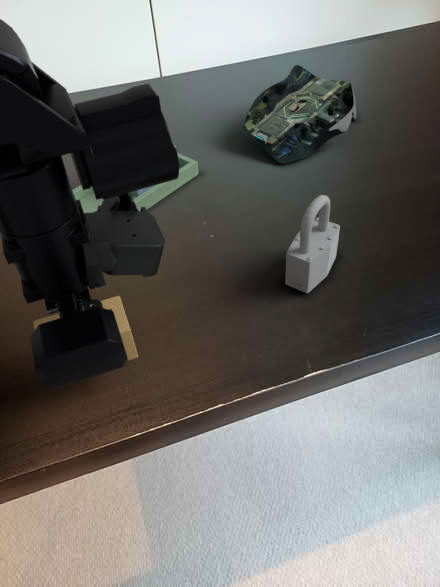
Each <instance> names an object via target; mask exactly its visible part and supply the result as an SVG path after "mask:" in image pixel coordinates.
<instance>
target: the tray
mask: <svg viewBox="0 0 440 587" xmlns="http://www.w3.org/2000/svg"><path fill="white" fill-rule="evenodd" d="M177 154H178V160H179V176H178V178H177V179H175V180H172V181H168V182H165V183H161V184H158V185H155V186H153V187H152V188H150V189H149V190H147V191H146V192H144V193H143V194H141V195H140V196H138V197H137V196H135V195H134V194H132V193H131V195H132V197H133V199H134V202H135V204H136V207H137V209H138V211H140V210H141V207H146V210H147V211H148V210H149V209H150V208H152V207H153V206H155V205H156V204H158V203H159V202H160V201H162V200H164V199H165V198H166V197H168V196H169V195H170V194H172V193H173V192H175V191H176V190H178V189H179V188H181V187H183V185H185V184H187V183H188V182H189V181H191V180H193V179H194V178H195V177H197V176H198V175H199V164H198V163H199V162H198V161H197V160H195V159H193V158H190V157H188V156H186V155H184V154H181V153H180V152H177ZM72 191H73V194H74V196H75V199H76V200H79V199H80V202H81V205H82V208H83V212H84V213H91V212H95V211H97V209H98V205H100V206H101V204H102V202H103V201H104V200H103V199H102V198H101V199H98V200H96V197H95V195H94V192H93V188H92V186H91V188H90V189H86V190H83V188H82V186H81V184H80V185H78V186H76V187H75V188H72Z"/></svg>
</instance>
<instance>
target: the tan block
mask: <svg viewBox="0 0 440 587" xmlns="http://www.w3.org/2000/svg"><path fill="white" fill-rule="evenodd" d="M100 301H101V303H102V305H103V308H105V309H108V310H109V309H112V311H113V312H114V315H115V318H116V321H117V325H118V328H119V331H120V334H121V338H122V341H123V344H124V347H125V351H126V354H127V357H128V360H127V361H126V362H128V361H132V360H135V359H137V358H139V354H138V350H137V347H136V344H135V340H134V337H133V333H132V329H131V326H130V323H129V321H128V317H127V315H126V312H125V308H124V306H123V302H122V299H121V296H120V295H116V296H112V297H109V298H106V299H102V300H100ZM83 308H84V307H83ZM56 319H59V313H54V314H53V315H49V316H45V317H42V318H39V319H35V320H33V321H32V323H33V331H34V330H35V329H36V328H37V326H38V325H39V324H42V323H46V322H49V321H52V320H56Z"/></svg>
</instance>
